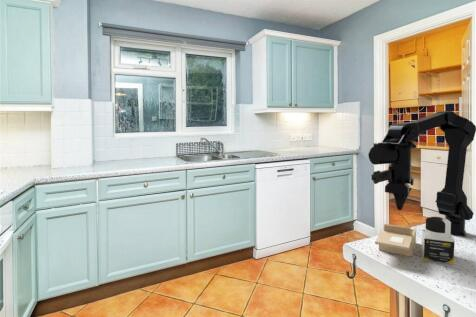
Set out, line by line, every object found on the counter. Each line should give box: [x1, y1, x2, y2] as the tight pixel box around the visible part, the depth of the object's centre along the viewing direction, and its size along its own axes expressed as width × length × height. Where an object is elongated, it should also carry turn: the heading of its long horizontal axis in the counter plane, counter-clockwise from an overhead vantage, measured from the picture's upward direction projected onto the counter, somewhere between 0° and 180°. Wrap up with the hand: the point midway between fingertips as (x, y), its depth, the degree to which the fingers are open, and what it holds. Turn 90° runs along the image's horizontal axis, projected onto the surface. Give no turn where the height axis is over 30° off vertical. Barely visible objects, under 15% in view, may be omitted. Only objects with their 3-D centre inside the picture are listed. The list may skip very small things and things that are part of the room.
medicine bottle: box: [421, 216, 456, 265], centre depth 86 cm, size 7×7×12 cm
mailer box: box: [378, 228, 417, 257], centre depth 94 cm, size 12×9×5 cm
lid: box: [374, 223, 413, 250], centre depth 88 cm, size 12×9×3 cm
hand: (399, 209), depth 97 cm, fingers closed
